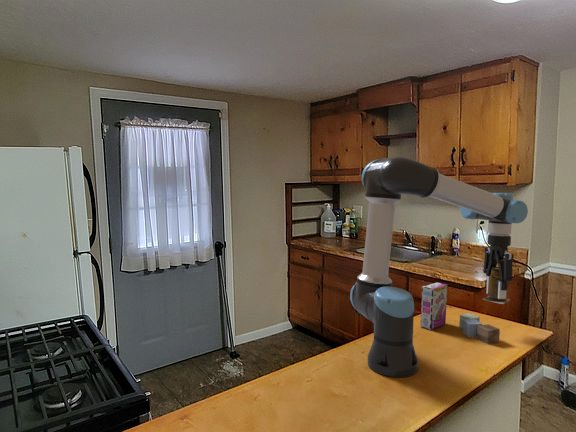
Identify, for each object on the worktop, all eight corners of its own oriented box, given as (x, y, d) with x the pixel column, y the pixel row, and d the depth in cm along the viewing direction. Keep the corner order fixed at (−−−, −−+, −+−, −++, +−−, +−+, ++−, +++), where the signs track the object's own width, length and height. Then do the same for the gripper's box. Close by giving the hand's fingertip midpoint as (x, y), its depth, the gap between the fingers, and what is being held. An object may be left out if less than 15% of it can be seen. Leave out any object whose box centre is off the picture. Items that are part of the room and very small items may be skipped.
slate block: (468, 337, 142) (468, 324, 142) (462, 332, 147) (462, 319, 147) (481, 337, 142) (482, 324, 142) (475, 332, 147) (475, 319, 147)
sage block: (470, 331, 147) (470, 319, 147) (459, 327, 152) (459, 315, 152) (479, 329, 150) (479, 317, 149) (468, 325, 154) (468, 313, 154)
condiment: (510, 300, 145) (512, 268, 144) (503, 304, 139) (504, 271, 138) (490, 295, 150) (491, 265, 149) (481, 300, 144) (483, 268, 143)
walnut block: (487, 344, 136) (488, 330, 135) (476, 339, 141) (477, 325, 140) (499, 342, 137) (499, 329, 137) (488, 337, 142) (488, 324, 142)
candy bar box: (431, 331, 148) (433, 289, 147) (420, 327, 152) (421, 286, 150) (446, 324, 155) (448, 284, 154) (435, 320, 159) (436, 281, 158)
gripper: (527, 238, 134) (523, 303, 136) (492, 231, 153) (489, 288, 155) (506, 238, 133) (503, 303, 135) (474, 231, 152) (471, 289, 154)
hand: (495, 295), depth 145 cm, fingers closed on condiment, 6 cm apart
